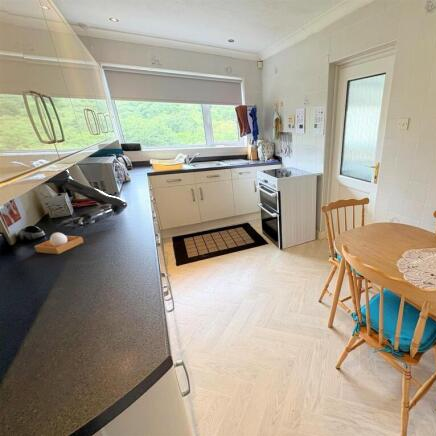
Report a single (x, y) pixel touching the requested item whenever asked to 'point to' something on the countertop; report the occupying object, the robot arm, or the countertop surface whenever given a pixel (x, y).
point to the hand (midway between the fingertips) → (63, 227)
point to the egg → (58, 239)
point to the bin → (49, 248)
